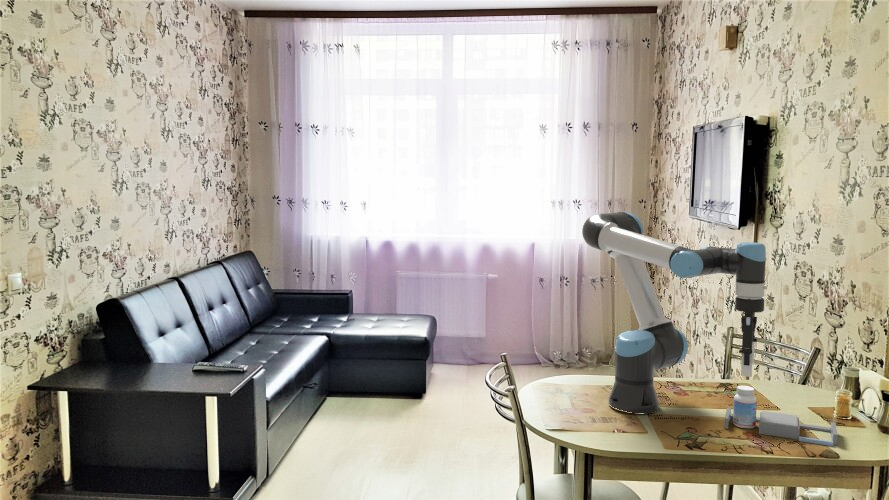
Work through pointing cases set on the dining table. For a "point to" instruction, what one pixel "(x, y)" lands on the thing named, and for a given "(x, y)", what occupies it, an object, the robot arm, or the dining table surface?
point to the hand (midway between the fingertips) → (747, 369)
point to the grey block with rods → (786, 427)
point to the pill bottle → (744, 407)
